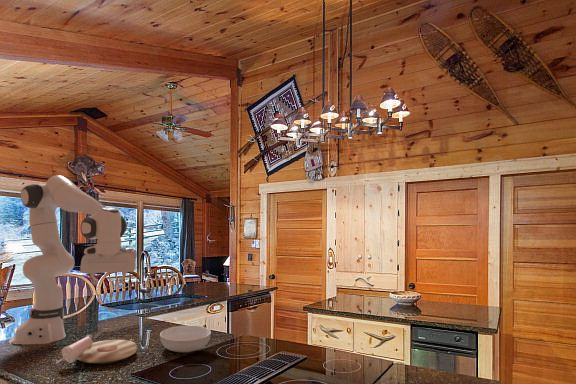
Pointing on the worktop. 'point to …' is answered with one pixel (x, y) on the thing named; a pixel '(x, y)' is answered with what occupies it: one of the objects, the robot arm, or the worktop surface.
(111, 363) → the turntable base
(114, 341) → the round wooden board
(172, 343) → the serving bowl
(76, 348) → the smoothie
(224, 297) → the worktop surface
